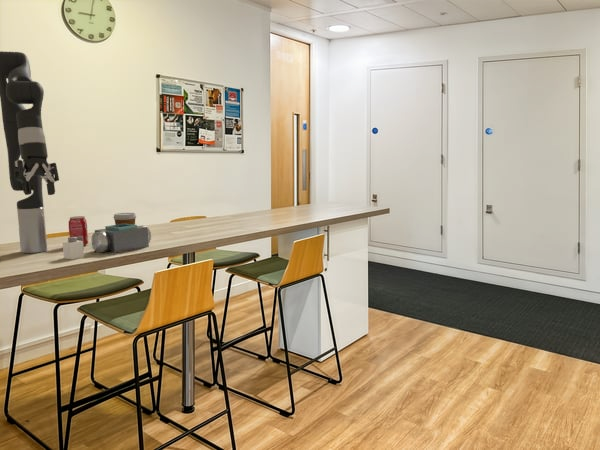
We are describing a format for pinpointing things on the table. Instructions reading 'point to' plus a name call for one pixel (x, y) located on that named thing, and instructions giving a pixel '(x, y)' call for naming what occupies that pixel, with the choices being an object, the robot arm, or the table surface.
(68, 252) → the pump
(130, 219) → the disposable coffee cup
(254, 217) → the table surface
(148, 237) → the motor
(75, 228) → the soda can
